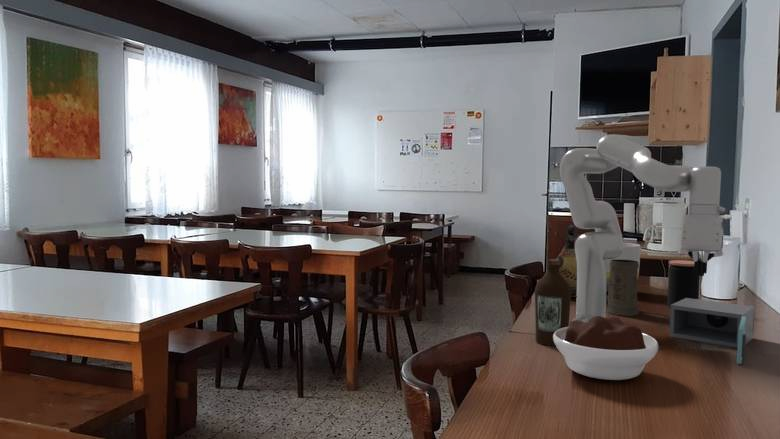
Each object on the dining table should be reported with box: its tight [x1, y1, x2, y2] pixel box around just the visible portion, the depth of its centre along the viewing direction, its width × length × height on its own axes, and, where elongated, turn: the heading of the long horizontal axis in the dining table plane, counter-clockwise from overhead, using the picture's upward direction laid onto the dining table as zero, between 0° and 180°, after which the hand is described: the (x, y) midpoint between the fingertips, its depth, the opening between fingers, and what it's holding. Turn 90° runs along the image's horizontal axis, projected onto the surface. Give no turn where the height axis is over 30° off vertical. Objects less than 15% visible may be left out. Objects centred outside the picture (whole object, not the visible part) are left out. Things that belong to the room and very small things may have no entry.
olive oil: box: [534, 258, 572, 346], centre depth 182 cm, size 11×11×25 cm
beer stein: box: [606, 259, 640, 317], centre depth 225 cm, size 15×11×20 cm
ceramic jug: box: [555, 224, 579, 298], centre depth 256 cm, size 17×15×30 cm
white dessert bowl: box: [553, 315, 659, 381], centre depth 152 cm, size 25×25×15 cm
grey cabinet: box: [668, 298, 755, 349], centre depth 190 cm, size 16×20×10 cm
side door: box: [736, 316, 747, 365], centre depth 169 cm, size 2×19×9 cm, turn 147°
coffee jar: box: [667, 259, 701, 308], centre depth 232 cm, size 11×11×18 cm
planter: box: [603, 242, 641, 293], centre depth 264 cm, size 20×20×21 cm
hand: (700, 275), depth 171 cm, fingers closed
